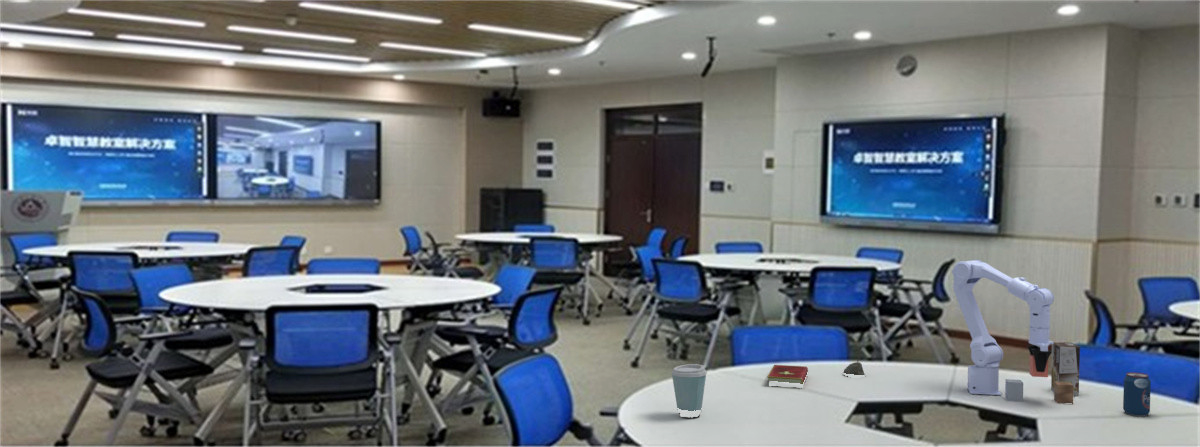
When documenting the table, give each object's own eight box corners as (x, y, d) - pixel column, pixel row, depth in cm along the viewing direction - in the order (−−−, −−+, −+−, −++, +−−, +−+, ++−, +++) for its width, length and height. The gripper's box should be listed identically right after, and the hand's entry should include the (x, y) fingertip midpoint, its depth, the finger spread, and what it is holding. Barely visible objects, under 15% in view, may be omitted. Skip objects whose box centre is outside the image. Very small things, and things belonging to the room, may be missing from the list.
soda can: (1149, 418, 269) (1150, 377, 268) (1122, 414, 272) (1123, 375, 272) (1149, 412, 275) (1151, 373, 274) (1123, 409, 278) (1124, 371, 278)
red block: (1032, 376, 286) (1032, 357, 285) (1029, 373, 290) (1029, 354, 290) (1048, 377, 284) (1048, 358, 284) (1044, 374, 289) (1045, 355, 288)
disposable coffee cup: (683, 422, 266) (683, 371, 265) (664, 414, 275) (664, 364, 275) (713, 417, 271) (713, 367, 270) (693, 409, 280) (693, 361, 279)
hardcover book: (808, 377, 328) (808, 365, 327) (802, 390, 308) (802, 378, 307) (774, 375, 331) (774, 363, 331) (767, 388, 311) (767, 375, 311)
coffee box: (1079, 396, 296) (1080, 346, 295) (1058, 395, 297) (1059, 346, 297) (1071, 389, 305) (1072, 342, 304) (1050, 389, 306) (1051, 341, 306)
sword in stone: (838, 373, 333) (839, 340, 333) (859, 373, 334) (860, 341, 333) (848, 379, 323) (849, 345, 323) (869, 379, 324) (871, 346, 323)
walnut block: (1057, 403, 287) (1057, 384, 287) (1054, 400, 291) (1054, 381, 291) (1073, 404, 286) (1073, 385, 285) (1069, 400, 290) (1069, 382, 290)
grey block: (1007, 400, 290) (1008, 382, 290) (1005, 397, 295) (1005, 379, 295) (1023, 401, 289) (1023, 382, 289) (1020, 398, 294) (1020, 379, 293)
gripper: (1059, 331, 278) (1058, 375, 279) (1048, 324, 292) (1047, 366, 293) (1033, 330, 280) (1033, 374, 281) (1024, 323, 294) (1023, 365, 295)
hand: (1038, 370), depth 287 cm, fingers closed on red block, 4 cm apart
